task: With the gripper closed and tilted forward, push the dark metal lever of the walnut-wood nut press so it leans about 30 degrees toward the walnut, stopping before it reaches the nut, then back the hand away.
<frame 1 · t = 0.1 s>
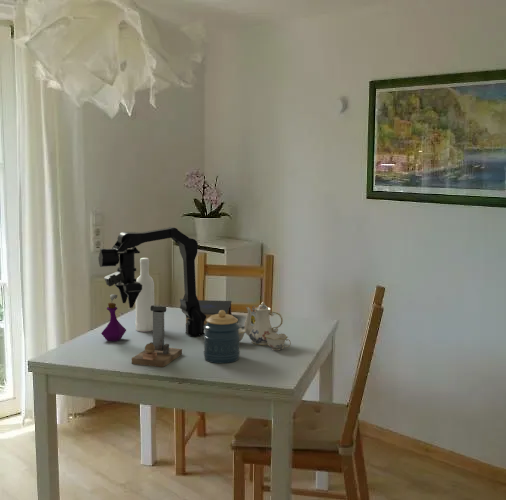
hand: (127, 305, 254), 15 cm above the table, tool pointing down, fingers open, 9 cm apart
lever: (158, 328, 235), point 11 cm above the table, hinge at 0.0°
book: (209, 321, 293), on the table
perfume bottle: (114, 340, 259), on the table
chinaware: (258, 344, 256), on the table
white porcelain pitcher: (249, 330, 277), on the table
bottle: (145, 329, 275), on the table
canister: (221, 358, 237), on the table
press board: (158, 358, 236), on the table
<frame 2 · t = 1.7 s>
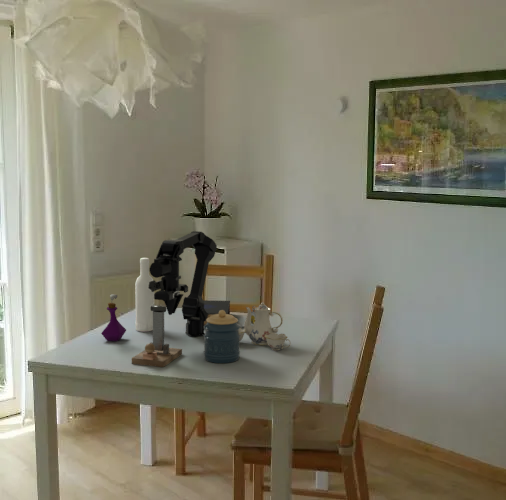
hand: (171, 314, 252), 12 cm above the table, tool pointing down, fingers closed
nothing on the table moved.
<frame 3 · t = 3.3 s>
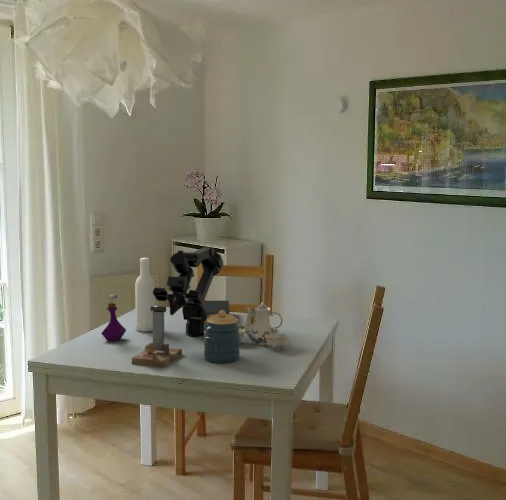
hand: (171, 314, 245), 13 cm above the table, tool tilted 45°, fingers closed
nothing on the table moved.
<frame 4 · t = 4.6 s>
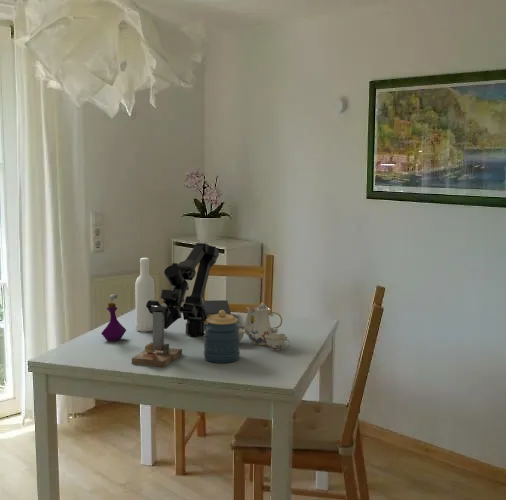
hand: (164, 328, 240), 10 cm above the table, tool tilted 45°, fingers closed
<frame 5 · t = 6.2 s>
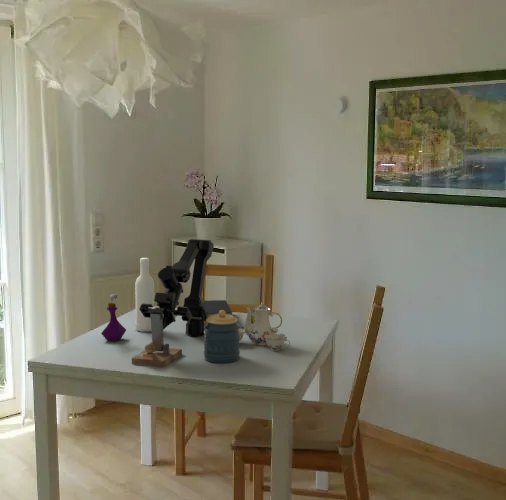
hand: (158, 332, 235), 9 cm above the table, tool tilted 45°, fingers closed, pressing on lever
lever: (157, 329, 234), point 11 cm above the table, hinge at 7.9°, touching gripper
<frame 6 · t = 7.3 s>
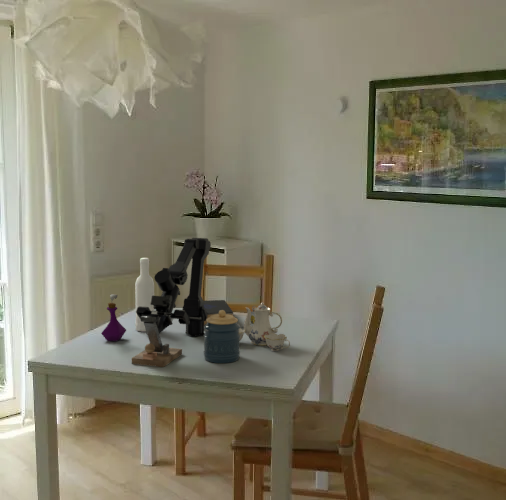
hand: (155, 335, 233), 9 cm above the table, tool tilted 45°, fingers closed, pressing on lever
lever: (153, 334, 231), point 10 cm above the table, hinge at 29.9°, touching gripper
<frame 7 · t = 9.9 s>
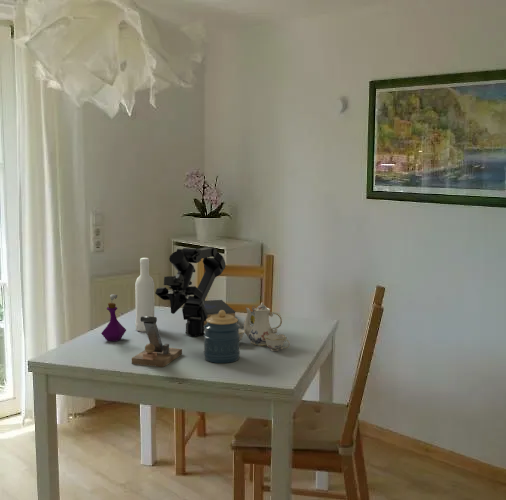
hand: (172, 313, 248), 13 cm above the table, tool tilted 40°, fingers closed
lever: (153, 334, 231), point 10 cm above the table, hinge at 30.0°
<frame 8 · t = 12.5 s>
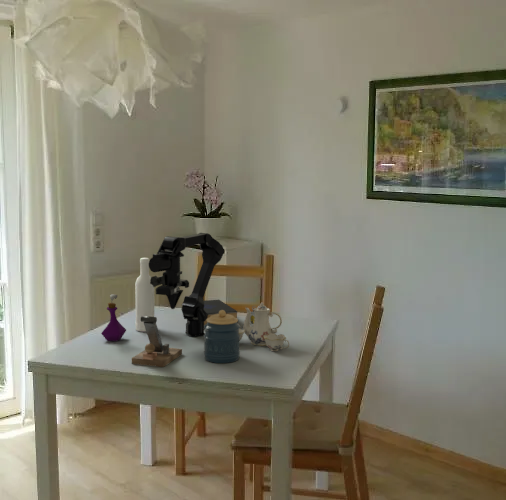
hand: (172, 308, 256), 13 cm above the table, tool pointing down, fingers closed
at the end: lever at +30° (first picture: +0°); the gripper is holding nothing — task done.
